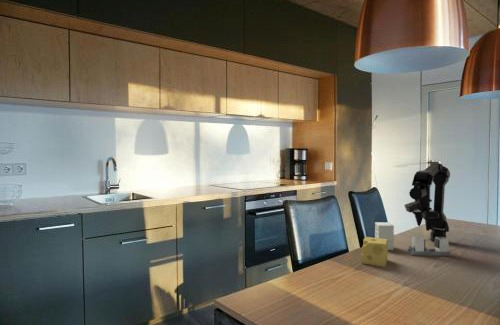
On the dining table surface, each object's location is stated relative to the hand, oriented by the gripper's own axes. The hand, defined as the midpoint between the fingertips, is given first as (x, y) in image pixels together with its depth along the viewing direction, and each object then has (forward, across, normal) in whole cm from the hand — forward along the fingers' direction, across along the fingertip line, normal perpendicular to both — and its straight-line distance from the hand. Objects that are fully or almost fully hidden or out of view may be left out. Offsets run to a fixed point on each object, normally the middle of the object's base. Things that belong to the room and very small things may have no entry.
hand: (423, 228), depth 163 cm
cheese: (+11, +18, -29) cm, 36 cm away
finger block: (+9, +6, -5) cm, 12 cm away
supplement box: (+11, -3, -18) cm, 22 cm away
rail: (+11, +6, 0) cm, 13 cm away
